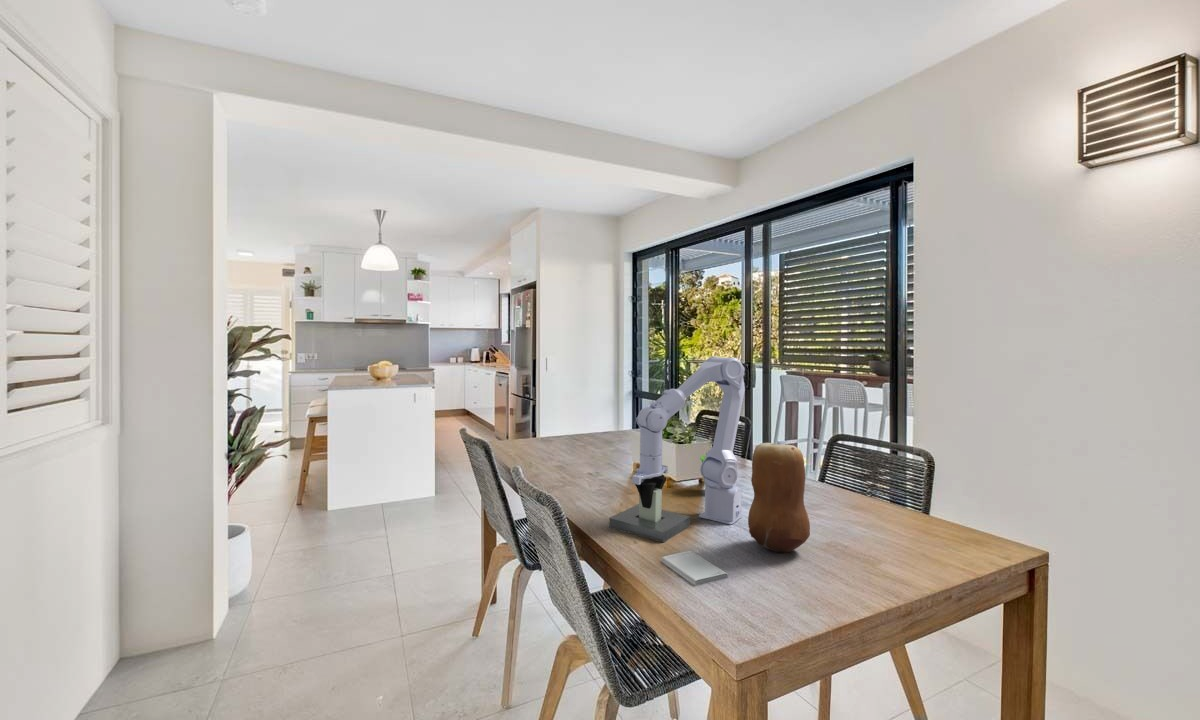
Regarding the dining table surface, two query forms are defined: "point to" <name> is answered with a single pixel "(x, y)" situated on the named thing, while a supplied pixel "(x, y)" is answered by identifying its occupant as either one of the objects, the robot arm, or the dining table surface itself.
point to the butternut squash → (778, 498)
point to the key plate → (650, 524)
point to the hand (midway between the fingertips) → (650, 505)
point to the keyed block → (652, 507)
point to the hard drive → (694, 568)
